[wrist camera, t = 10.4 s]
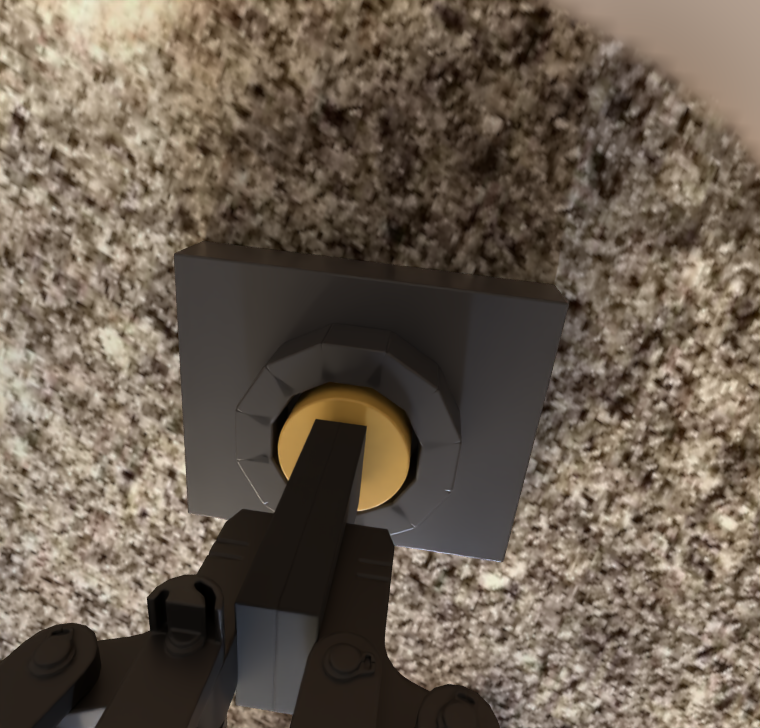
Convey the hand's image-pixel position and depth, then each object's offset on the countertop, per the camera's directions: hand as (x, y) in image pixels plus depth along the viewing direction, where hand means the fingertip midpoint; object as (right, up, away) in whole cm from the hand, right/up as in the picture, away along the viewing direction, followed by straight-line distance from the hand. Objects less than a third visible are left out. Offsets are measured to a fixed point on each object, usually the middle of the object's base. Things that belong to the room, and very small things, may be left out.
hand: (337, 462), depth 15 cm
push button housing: (+1, +2, +4) cm, 5 cm away
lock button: (0, +1, +2) cm, 2 cm away
